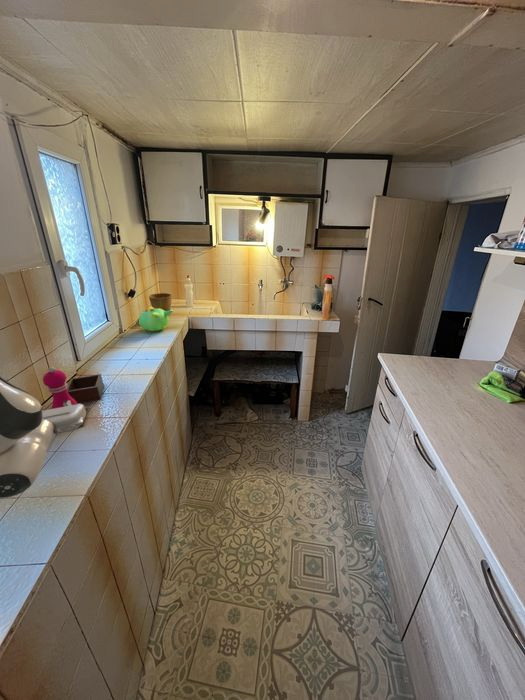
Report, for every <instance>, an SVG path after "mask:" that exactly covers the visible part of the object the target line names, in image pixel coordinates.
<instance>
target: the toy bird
mask: <svg viewBox="0 0 525 700" xmlns="http://www.w3.org/2000/svg"><path fill="white" fill-rule="evenodd" d="M173 312H174V310H173V309H170V310H169V311H164V310H163V309H160V308H153V307H152V305H150V306H149V305H148V308H146V309H145V310H143V311H142V312H140V314H139V317H138V323H139V326H140V327H141V328H142V329H143V330H144V331H146V332H158V331H162V330H163V329H165V327H167V325H168V324H169V320H170V315H171V314H172V313H173ZM168 315H169V317H168Z"/></svg>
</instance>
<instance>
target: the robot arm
mask: <svg viewBox="0 0 525 700" xmlns="http://www.w3.org/2000/svg"><path fill="white" fill-rule="evenodd" d="M63 406H64V407H60V408H54V409H52V408H50V409H45V410H43V406H42V403H41V402H40V400H39V399H38V398H37V397H36V396H34V395H33V394H31V393H30V392H28V391H26V390H24V389H21V388H20V387H17V386H16V385H14V384H12V383H11V382H9V381H7V380H6V379H5V378H3V377H2V376H0V499H5V498H12V497H15V496H18V495H19V494H22V493H24V492H25V491H26V490H28V489H29V488H31V486H33V484H35V482H36V480H37V479H38V478H39V475H40V473H41V472H42V469H43V468H44V466H45V463H46V461H47V457H48V456H47V454H49V452H50V450H51V448H52V446H53V443H54V441H55V439H56V436H57V434H58V433H59V434H60V433H64V432H69V431H72V430H76V429H78V428H80V427H79V426H80V425H82V423H83V420H84V418H85V419H86V417H87V414H86V410H85V408H86V407H85V405H84V404H82V403H77V404H76V405H71V401H70V400H69V401H64V403H63ZM85 416H86V417H85Z"/></svg>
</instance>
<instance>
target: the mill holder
mask: <svg viewBox="0 0 525 700" xmlns="http://www.w3.org/2000/svg"><path fill="white" fill-rule="evenodd" d="M104 387H105V385H104V379H103V377H102V374H101V373H99V374H92V375H86V376H80V377H79V376H78V377H73V378H70V379H69V381H68V383H67V392H68V394H69V395H70V396H71V397H72V398H73V399H74V400H75V401H76V402H77V404H82V403H86V402H87V403H88V402H92V401H93V402H94V401H98V400H101V399H102V396H103V391H104Z"/></svg>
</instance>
